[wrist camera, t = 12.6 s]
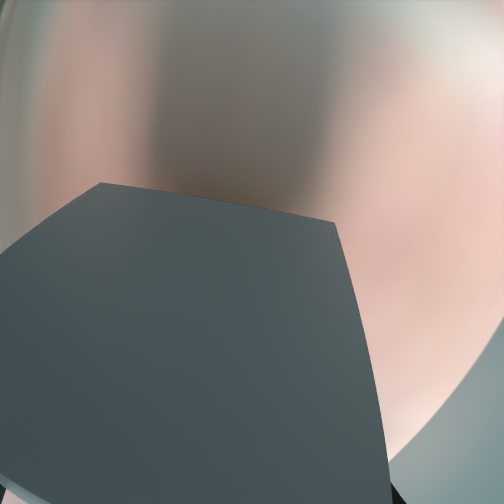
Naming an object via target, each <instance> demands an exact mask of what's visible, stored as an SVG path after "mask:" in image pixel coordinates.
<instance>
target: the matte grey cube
mask: <svg viewBox="0 0 504 504" xmlns="http://www.w3.org/2000/svg"><path fill="white" fill-rule="evenodd" d="M0 484H1V485H2V486H3V487H5V488H6V489H8V490H9V491H10V492H12V493H13V494H15V495H16V496H18V497H19V498H20V499H22V500H23V501H25V502H26V503H28V504H393V502H392V492H391V483H390V474H389V466H388V458H387V451H386V444H385V437H384V431H383V425H382V419H381V413H380V407H379V401H378V396H377V391H376V385H375V380H374V375H373V370H372V365H371V361H370V356H369V351H368V347H367V342H366V338H365V333H364V329H363V325H362V321H361V317H360V313H359V308H358V304H357V301H356V297H355V293H354V289H353V285H352V281H351V278H350V274H349V270H348V267H347V263H346V260H345V256H344V253H343V249H342V246H341V242H340V239H339V236H338V232H337V229H336V226H335V223H333V222H329V221H324V220H319V219H314V218H309V217H304V216H299V215H294V214H289V213H284V212H279V211H274V210H269V209H263V208H258V207H253V206H247V205H242V204H236V203H230V202H225V201H219V200H213V199H207V198H201V197H195V196H189V195H183V194H177V193H170V192H164V191H157V190H151V189H144V188H137V187H130V186H123V185H116V184H108V183H101V182H100V183H99V184H97V185H96V186H94V187H92V188H91V189H89V190H88V191H86V192H85V193H83V194H82V195H80V196H79V197H77V198H76V199H74V200H73V201H71V202H70V203H68V204H67V205H65V206H64V207H62V208H61V209H59V210H58V211H57V212H55V213H54V214H52V215H51V216H50V217H48V218H47V219H45V220H44V221H43V222H41V223H40V224H39V225H37V226H36V227H34V228H33V229H32V230H31V231H29V232H28V233H27V234H25V235H24V236H23V237H21V238H20V239H19V240H18V241H16V242H15V243H14V244H12V245H11V246H10V247H9V248H7V249H6V250H5V251H4V252H3V253H1V254H0Z"/></svg>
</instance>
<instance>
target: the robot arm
mask: <svg viewBox="0 0 504 504" xmlns="http://www.w3.org/2000/svg"><path fill="white" fill-rule="evenodd" d="M390 483H391V482H390ZM5 491H6V488H5V487H3V486H2V485H1V484H0V504H1V503H2V500H3V497H4V494H5ZM391 492H392V502H393V504H406V502H405V501H404V500H403V498H402V497H401V496H400V495H399V493H398V492H397V490H396V489H395V487H394V486H393V485H392V483H391Z"/></svg>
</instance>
